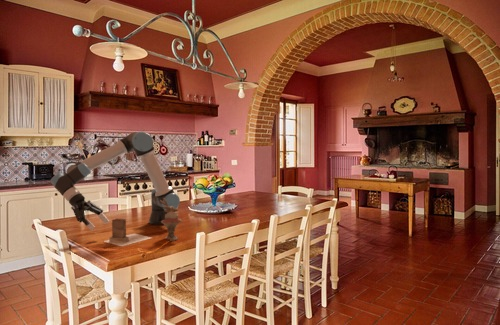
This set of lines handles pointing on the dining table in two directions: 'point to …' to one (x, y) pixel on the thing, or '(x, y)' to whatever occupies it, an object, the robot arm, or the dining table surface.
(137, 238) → the marked board
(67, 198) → the robot arm
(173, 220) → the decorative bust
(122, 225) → the block
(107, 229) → the dining table surface
